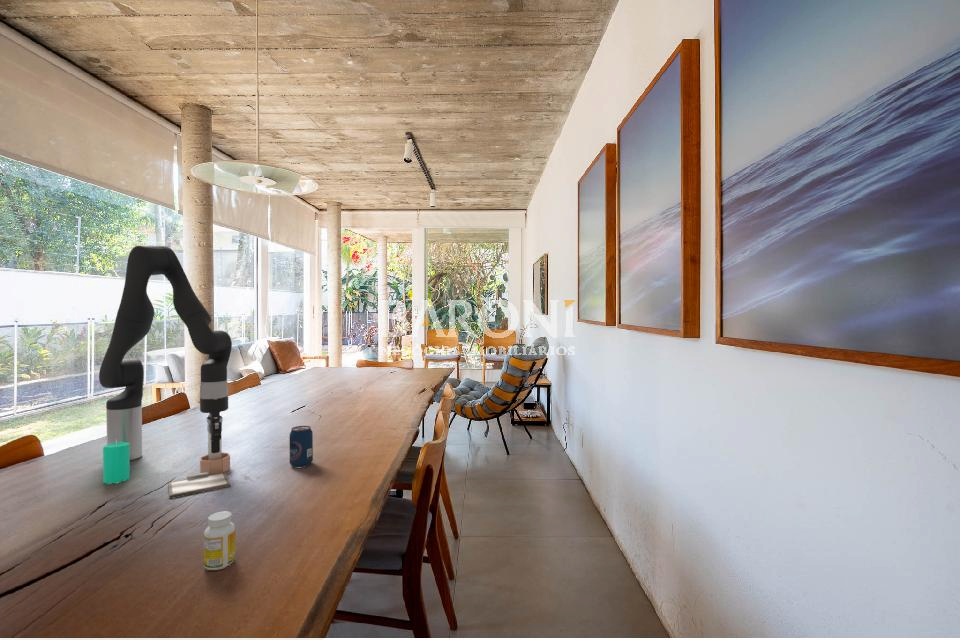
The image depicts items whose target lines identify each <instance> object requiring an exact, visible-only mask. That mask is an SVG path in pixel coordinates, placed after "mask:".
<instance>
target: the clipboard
mask: <svg viewBox="0 0 960 640" xmlns="http://www.w3.org/2000/svg"><path fill="white" fill-rule="evenodd" d="M229 486H230V487H231V483H230V481H229V478H228V476H227V473H226V472H223V473H218V474H212V475H208V472H205V473H200V472H199V473H195V474H194V473H193V474H189V475H187V476H186V479H181V480H175V481H170V482H168V498H169V497H170V498H171V499H174V498H173V497H176V498H179V497H178V496H180V497H183V496H182V495H185V496H189V495H188V494H190V495H194V494H193V493H195V494H199V493H198V492H200V493H204V492H203V491H205V492H209V491H208V490H210V491H213V490H214V489H215V490H219V488H220V489H224V487H225V488H228V487H229ZM230 487H229V488H230ZM215 490H214V491H215ZM170 498H169V499H170Z"/></svg>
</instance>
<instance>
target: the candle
mask: <svg viewBox="0 0 960 640" xmlns="http://www.w3.org/2000/svg"><path fill="white" fill-rule="evenodd" d="M102 461H103V462H102V466H103V467H102V468H103V469H102V470H103V472H102V473H103V474H102V477H103V481H102V482H103V483H102V484H104V483H115V484H118V483H117V482H120V483H122V482H121V481H124V482H126V481H128V480H130V478H131V475H130V474H131V473H130V470H131V469H130V460H129V443H126V442H117V439H116V443H112V444H108V445H107V444H106V445H103V446H102ZM129 477H130V478H129ZM127 479H128V480H127ZM125 480H126V481H125Z"/></svg>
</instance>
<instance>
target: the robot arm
mask: <svg viewBox="0 0 960 640" xmlns="http://www.w3.org/2000/svg"><path fill="white" fill-rule="evenodd" d="M158 275H159V276H161V275H162V276H164V278H166V280H168V281H169V283H170V284H171V288H172V301H173V302H172V303H173V307H174V310H175V312H176V314H177V315H178V317H179V318H180V319H181V321H182V322H183V323H184V325H185V326H186V328H187V331H188V334H189V336H190V339H191V342H192V344H193V346H194V348H195V349H196V350H197V351H198V352H199V353H201V354H203V355H208V359H207V360H206V361H205V362H203V363H202V364H201V365H200V385H199V411H200V413H203V414H208V415H207V416H206V419H205V420H206V425H207V426H208V427H209V433H210V434H211V439H210V440H211V452H212V453H218V452H220V439H221V434H222V432H223V421H224V420H223V416H222V414H221V412H225V411H227V410H229V386H228V385H229V383H228V364H229V360H230V357H231V352H232V347H233V345H232V344H233V343H232V337H231V336H230V334H229V333H228V332H226V331H225V330H221V329H220V330H212V329H211V328H210V324H211V323H212V317H211V315H210V313H209V311H208V310H207V309H206V308H205V306H204V305H203V303H202V302H201V301H200V299H199V297H198V296H197V295H196V293H195V291H194V290H193V287H192V285H191V283H190V281H189V279H188V277H187V274H186V273H185V270H184V269H183V267H182V264H181V262H180V260H179V258H178V256H177V255H176V253H175V252H174V250H173V249H172V248H171V247H169V246H167V245H165V244H139V245H135V246H134V247H132V248H131V250H130V252H129V254H128V257H127V263H126V272H125V280H124V285H123V291H122V295H121V300H120V303H119V307H118V310H117V314H116V317H115V321H114V325H113V330H112V334H111V338H110V342H109V344H108V346H107V349H106V352H105V355H104V357H103V359H102V362H101V365H100V368H99V372H98V381H99V383H100V385H101V386H102V387H103V388H104V389H116V388H117V389H118V388H124V390H123V391H121V393H119V394H117V395H115V396H113V397H111V398H109V399H108V400H106V405H105V406H106V407H105V408H106V415H105V416H106V445H108V444H112V443H116V439H117V442H126V443H129V461H133V460H138V458H141V457H142V456H143V412H142V410H143V408H142V407H143V405H142V401H143V396H144V391H143V390H144V379H145V377H144V376H145V375H144V373H145V371H144V369H145V368H144V366H143V362H142V361H141V359H139V358H125V357H126V355H127V354H128V352H129V351H131V349H132V348H133V347H135V346H136V345H137V344H138V343H139V342H140V341H142V340H143V339H144V338H145V337H146V336H147V335H148V334H149V332H150V330H151V327H152V325H153V321H154V317H155V307H154V306H153V303H152V302H151V299H150V297H149V295H148V293H147V290H148V284H149V280H150V277H151V276H158ZM211 429H212V430H211ZM214 434H218V436H214Z"/></svg>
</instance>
